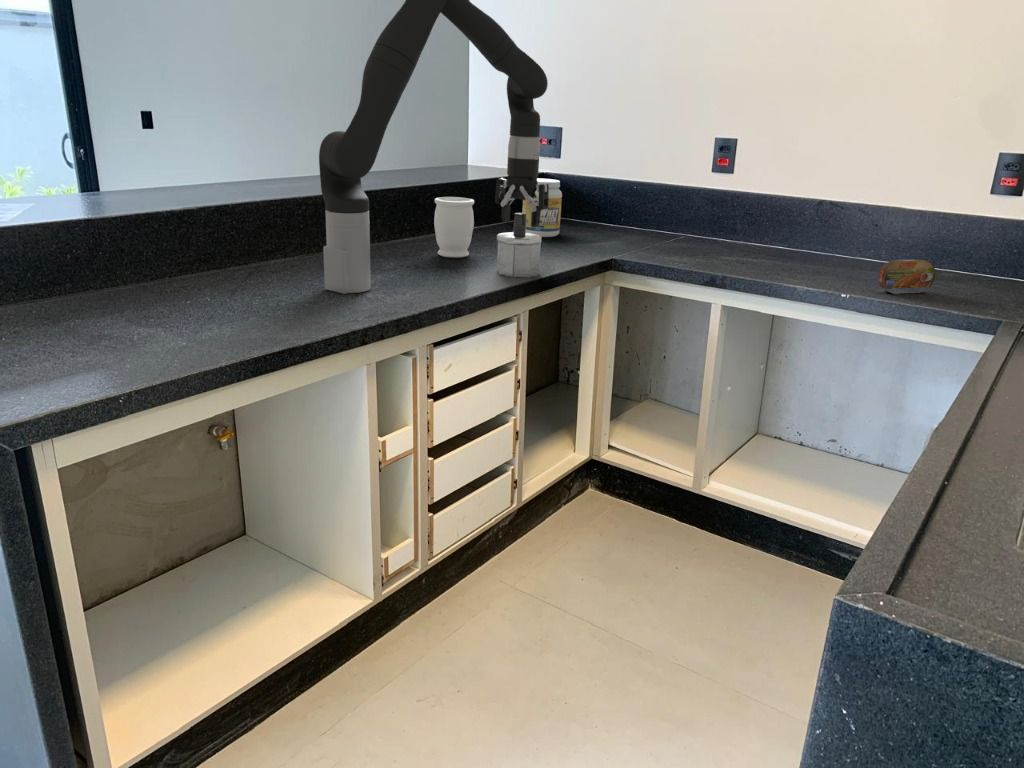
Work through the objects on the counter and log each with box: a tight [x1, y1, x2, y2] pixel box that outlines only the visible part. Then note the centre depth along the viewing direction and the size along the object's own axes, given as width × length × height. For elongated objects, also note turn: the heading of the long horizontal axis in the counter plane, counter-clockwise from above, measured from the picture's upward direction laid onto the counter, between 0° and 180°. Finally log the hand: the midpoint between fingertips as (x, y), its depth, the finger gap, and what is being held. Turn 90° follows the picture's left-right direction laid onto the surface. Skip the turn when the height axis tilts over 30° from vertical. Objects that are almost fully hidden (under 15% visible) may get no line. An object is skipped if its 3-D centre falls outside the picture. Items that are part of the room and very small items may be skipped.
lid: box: [496, 212, 543, 245], centre depth 194 cm, size 11×11×7 cm
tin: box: [878, 259, 936, 289], centre depth 196 cm, size 15×3×8 cm, turn 105°
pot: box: [496, 241, 542, 279], centre depth 197 cm, size 10×10×8 cm
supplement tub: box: [521, 177, 563, 238], centre depth 249 cm, size 12×12×17 cm
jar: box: [433, 196, 475, 259], centre depth 213 cm, size 11×10×15 cm
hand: (520, 224), depth 194 cm, fingers open, 8 cm apart
